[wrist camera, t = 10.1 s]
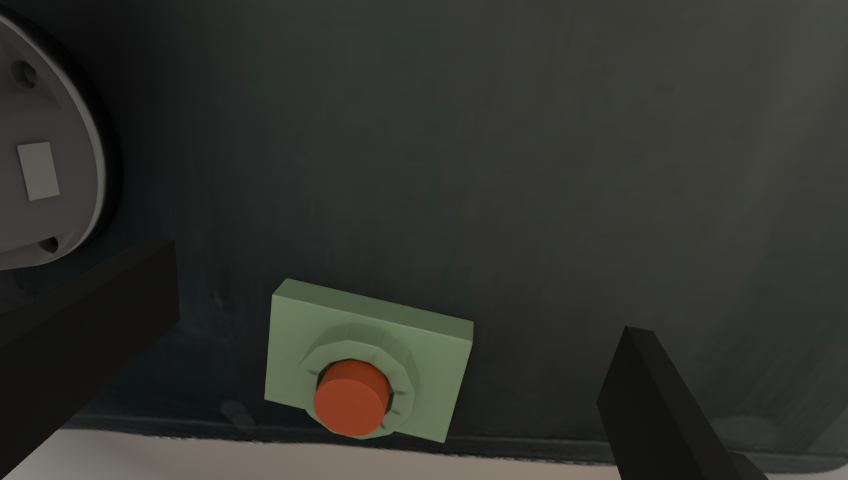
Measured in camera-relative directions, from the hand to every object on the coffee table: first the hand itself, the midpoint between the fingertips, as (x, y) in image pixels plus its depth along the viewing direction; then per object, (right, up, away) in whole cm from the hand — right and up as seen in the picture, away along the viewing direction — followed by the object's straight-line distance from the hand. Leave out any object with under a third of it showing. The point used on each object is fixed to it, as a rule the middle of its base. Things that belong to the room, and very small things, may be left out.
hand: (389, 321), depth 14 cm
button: (-3, -6, +14) cm, 15 cm away
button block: (-2, -5, +17) cm, 18 cm away
